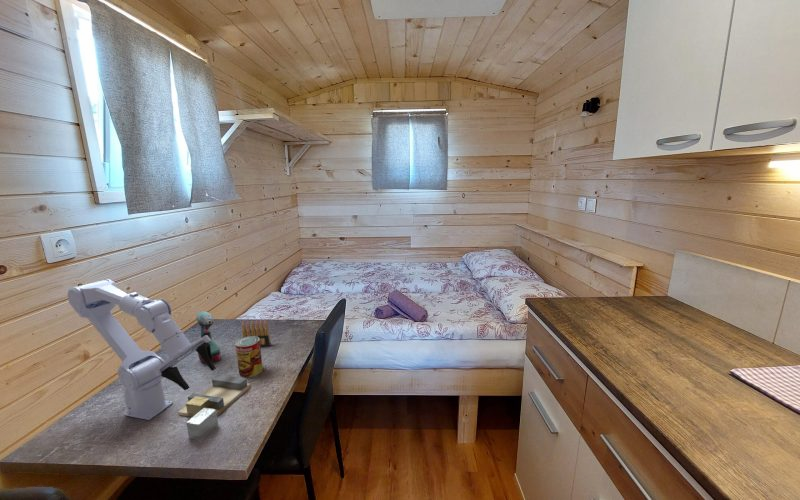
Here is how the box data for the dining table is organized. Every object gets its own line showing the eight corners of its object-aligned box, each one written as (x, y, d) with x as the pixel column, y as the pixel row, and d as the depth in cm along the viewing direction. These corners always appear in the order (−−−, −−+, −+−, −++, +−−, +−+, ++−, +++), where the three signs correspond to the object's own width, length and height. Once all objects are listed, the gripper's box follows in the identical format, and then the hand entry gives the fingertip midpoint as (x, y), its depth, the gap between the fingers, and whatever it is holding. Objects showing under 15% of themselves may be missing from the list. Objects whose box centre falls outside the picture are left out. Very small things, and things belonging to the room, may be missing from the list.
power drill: (205, 373, 121) (198, 321, 117) (196, 356, 133) (189, 309, 129) (227, 365, 126) (220, 316, 122) (216, 350, 138) (210, 304, 134)
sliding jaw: (179, 411, 99) (177, 402, 99) (194, 400, 105) (192, 390, 104) (210, 417, 97) (208, 407, 96) (224, 405, 102) (222, 395, 101)
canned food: (234, 375, 120) (230, 344, 117) (250, 364, 127) (247, 334, 125) (251, 379, 117) (247, 347, 115) (267, 367, 124) (264, 337, 122)
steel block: (189, 438, 91) (186, 422, 90) (206, 423, 96) (204, 407, 95) (201, 440, 90) (198, 424, 89) (218, 425, 95) (215, 409, 94)
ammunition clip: (270, 344, 142) (268, 318, 140) (269, 346, 141) (267, 319, 138) (244, 346, 141) (241, 319, 138) (243, 348, 139) (239, 321, 137)
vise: (178, 414, 100) (176, 404, 99) (220, 381, 116) (219, 372, 115) (212, 420, 97) (210, 410, 96) (250, 386, 113) (249, 377, 112)
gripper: (138, 357, 86) (168, 400, 85) (192, 321, 91) (221, 362, 90) (150, 356, 93) (179, 396, 92) (200, 322, 98) (228, 360, 97)
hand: (200, 379), depth 92 cm, fingers open, 7 cm apart
